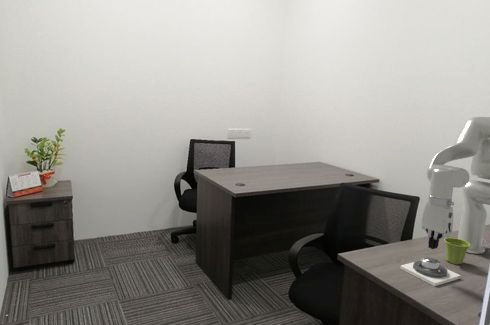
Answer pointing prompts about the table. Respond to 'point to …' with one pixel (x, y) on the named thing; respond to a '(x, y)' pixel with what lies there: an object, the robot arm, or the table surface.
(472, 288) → the table surface
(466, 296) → the table surface
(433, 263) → the cap
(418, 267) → the mounted pipe fitting
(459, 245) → the plant pot
